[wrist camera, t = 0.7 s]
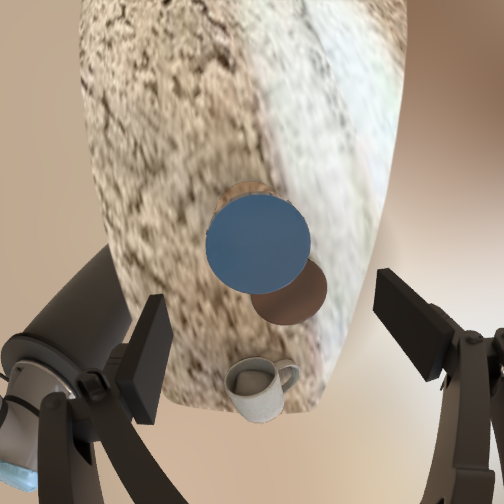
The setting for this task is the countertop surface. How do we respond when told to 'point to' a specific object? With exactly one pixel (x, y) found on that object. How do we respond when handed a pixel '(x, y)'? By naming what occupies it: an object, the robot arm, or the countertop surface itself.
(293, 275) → the jar lid
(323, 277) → the coaster
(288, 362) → the ceramic mug
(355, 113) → the countertop surface
